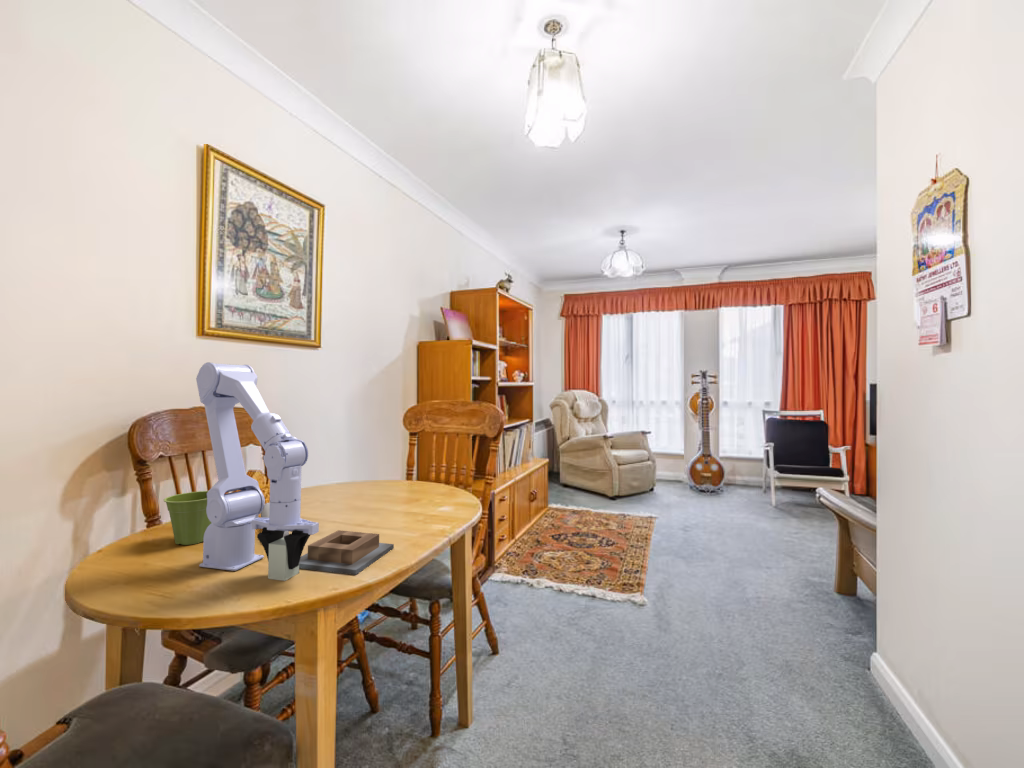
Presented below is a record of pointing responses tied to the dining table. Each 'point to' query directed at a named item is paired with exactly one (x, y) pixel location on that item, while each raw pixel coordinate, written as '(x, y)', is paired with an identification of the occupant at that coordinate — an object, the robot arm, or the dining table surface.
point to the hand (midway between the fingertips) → (284, 566)
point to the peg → (279, 561)
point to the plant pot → (188, 516)
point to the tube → (266, 515)
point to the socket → (344, 552)
